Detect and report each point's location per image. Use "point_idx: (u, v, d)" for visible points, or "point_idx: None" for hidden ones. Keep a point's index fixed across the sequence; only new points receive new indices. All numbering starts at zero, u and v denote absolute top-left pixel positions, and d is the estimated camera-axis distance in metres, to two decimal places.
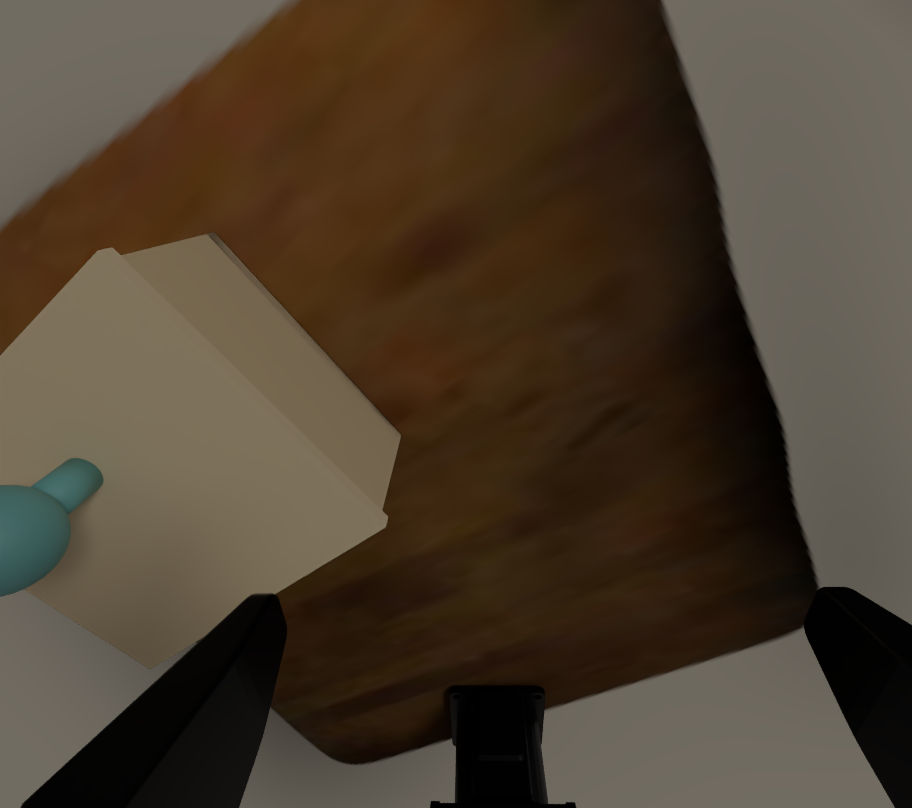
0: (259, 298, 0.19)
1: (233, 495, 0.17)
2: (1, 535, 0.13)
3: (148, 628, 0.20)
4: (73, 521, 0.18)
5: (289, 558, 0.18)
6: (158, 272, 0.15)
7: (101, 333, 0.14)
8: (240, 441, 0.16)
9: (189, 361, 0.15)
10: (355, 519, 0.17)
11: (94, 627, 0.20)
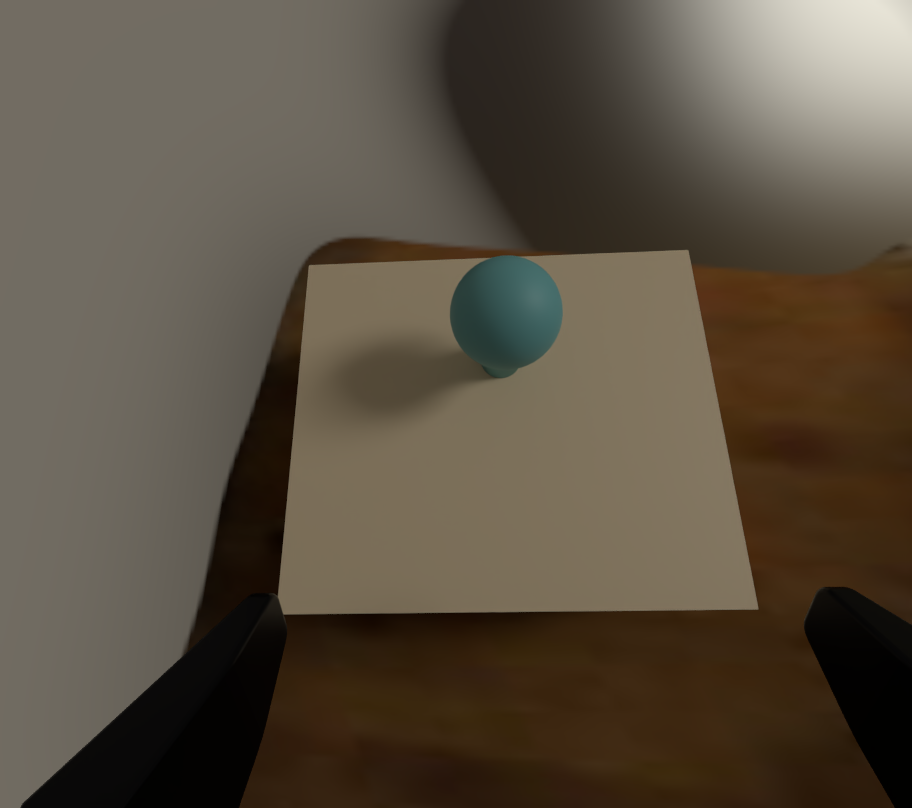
0: None
1: (618, 464, 0.15)
2: (558, 297, 0.13)
3: (353, 552, 0.15)
4: (438, 388, 0.16)
5: (613, 574, 0.14)
6: None
7: (638, 287, 0.17)
8: (673, 422, 0.16)
9: (688, 340, 0.16)
10: (728, 575, 0.14)
11: (298, 507, 0.15)
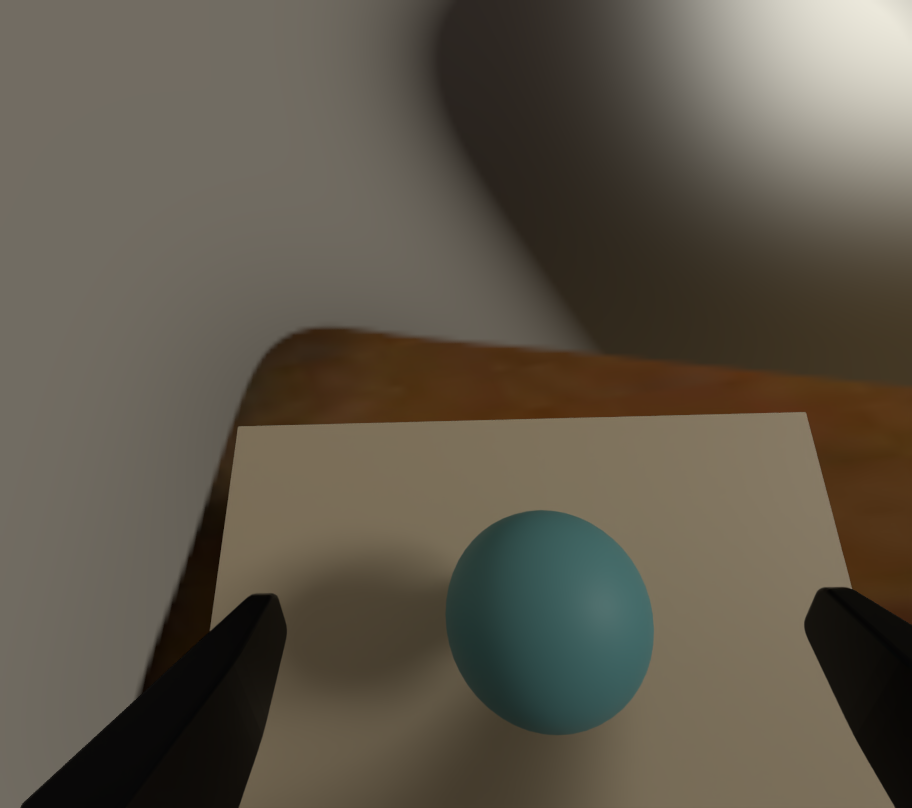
0: None
1: (724, 804, 0.09)
2: (650, 614, 0.07)
3: None
4: (427, 649, 0.10)
5: None
6: None
7: (734, 473, 0.11)
8: (808, 722, 0.10)
9: (819, 570, 0.11)
10: None
11: None
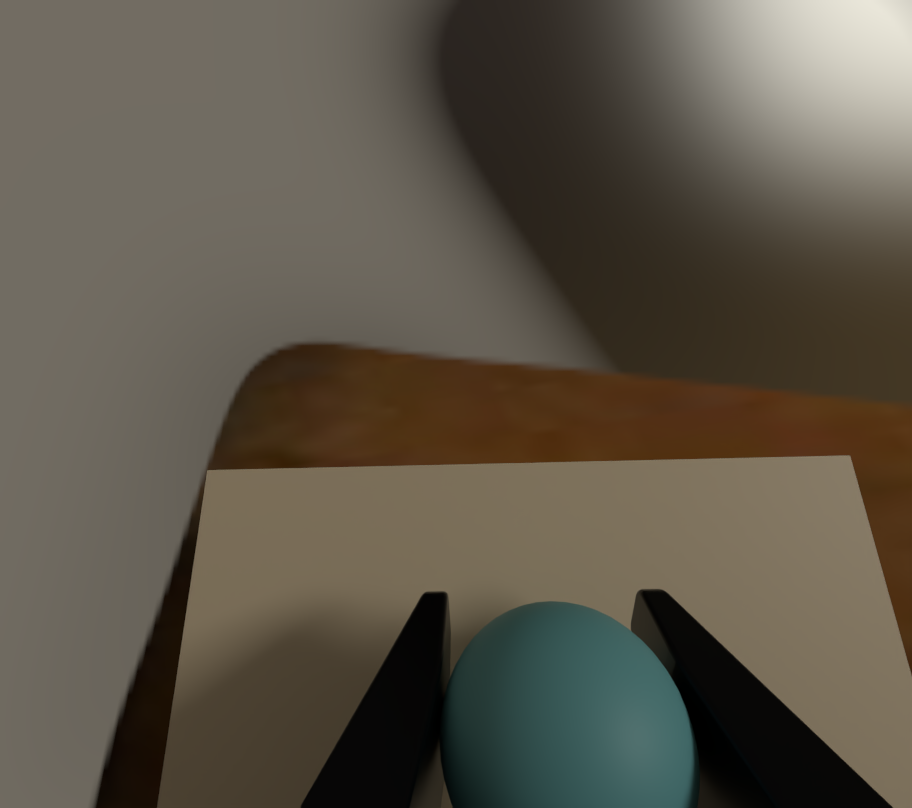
0: None
1: None
2: (695, 753, 0.05)
3: None
4: None
5: None
6: None
7: (770, 528, 0.10)
8: None
9: (870, 643, 0.09)
10: None
11: None
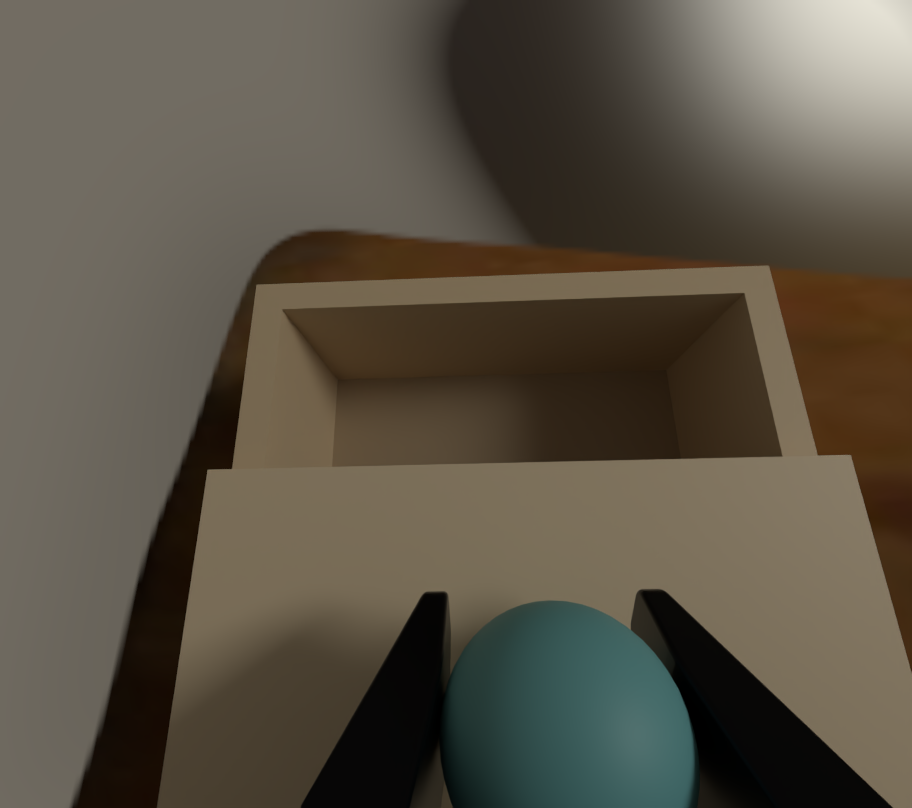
0: None
1: None
2: (695, 752, 0.05)
3: None
4: None
5: None
6: None
7: (770, 527, 0.10)
8: None
9: (871, 643, 0.09)
10: None
11: None
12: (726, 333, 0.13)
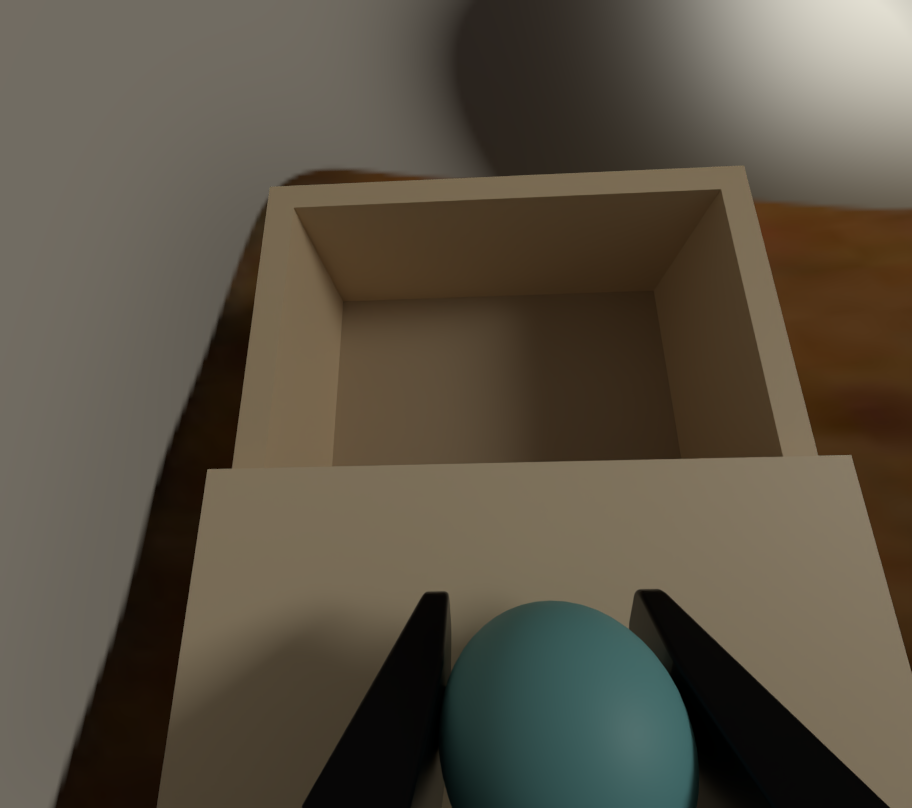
0: None
1: None
2: (695, 753, 0.05)
3: None
4: None
5: None
6: None
7: (771, 527, 0.10)
8: None
9: (871, 643, 0.09)
10: None
11: None
12: (705, 233, 0.14)
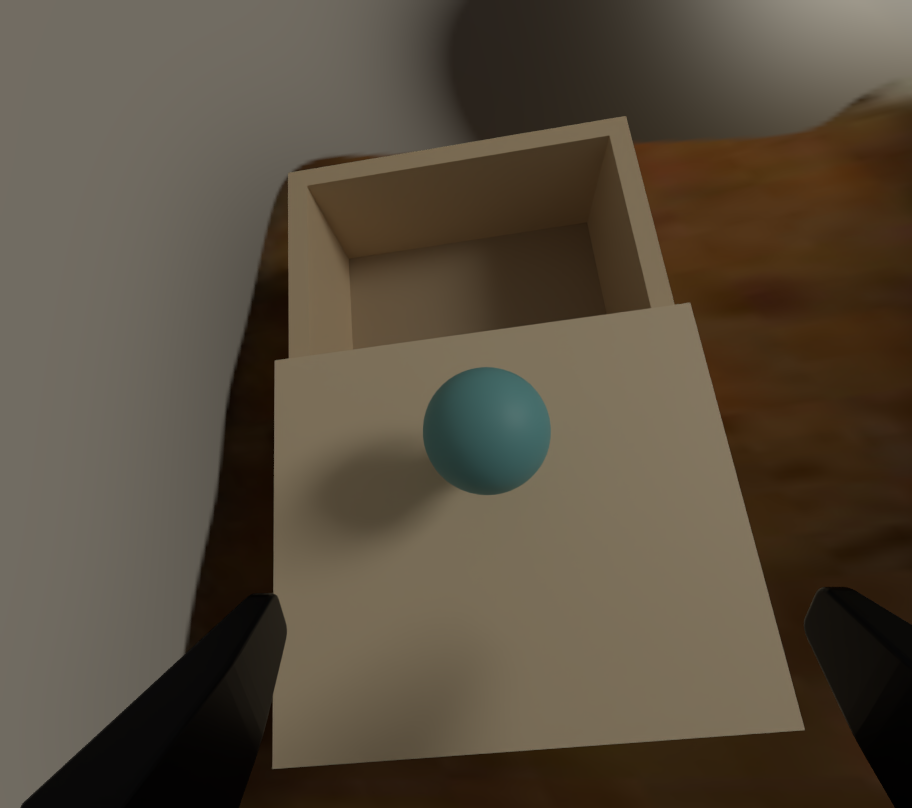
0: None
1: (632, 566, 0.14)
2: (543, 415, 0.11)
3: (348, 691, 0.14)
4: (425, 493, 0.15)
5: (636, 698, 0.13)
6: None
7: (637, 352, 0.15)
8: (690, 511, 0.14)
9: (699, 412, 0.15)
10: (767, 691, 0.13)
11: (285, 643, 0.14)
12: (606, 169, 0.20)
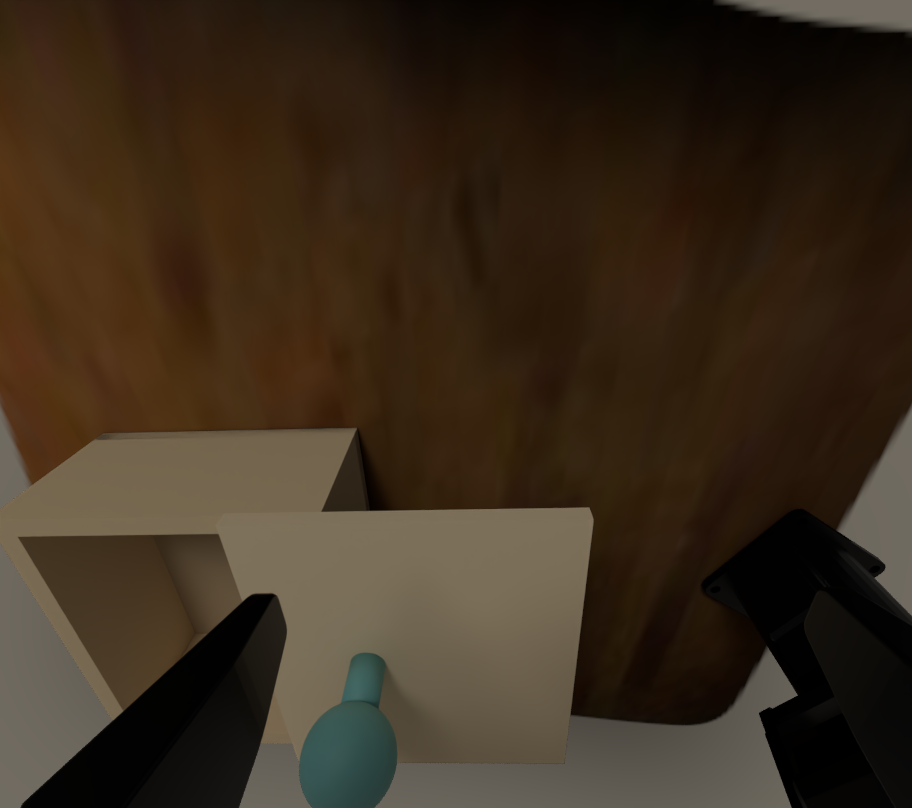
0: (153, 444, 0.21)
1: (461, 597, 0.17)
2: (336, 759, 0.14)
3: (527, 735, 0.21)
4: (399, 698, 0.20)
5: (554, 608, 0.17)
6: (30, 501, 0.17)
7: (273, 569, 0.16)
8: (419, 558, 0.16)
9: (329, 537, 0.16)
10: (562, 535, 0.15)
11: (494, 758, 0.22)
12: None
